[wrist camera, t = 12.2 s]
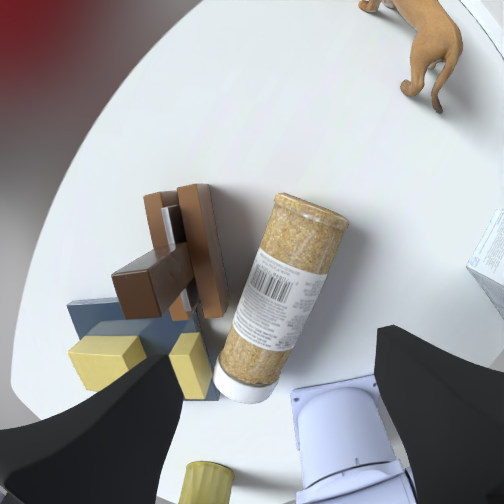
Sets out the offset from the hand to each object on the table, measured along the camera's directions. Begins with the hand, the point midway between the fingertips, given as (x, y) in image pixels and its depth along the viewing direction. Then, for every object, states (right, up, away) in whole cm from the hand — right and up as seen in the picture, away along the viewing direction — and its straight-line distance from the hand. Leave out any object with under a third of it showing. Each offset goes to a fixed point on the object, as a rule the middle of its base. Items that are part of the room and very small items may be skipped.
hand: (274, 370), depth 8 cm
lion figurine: (+10, +21, +5) cm, 24 cm away
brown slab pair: (-5, +4, +10) cm, 12 cm away
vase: (-6, -23, +17) cm, 30 cm away
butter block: (-12, -5, +12) cm, 18 cm away
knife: (-5, +4, +10) cm, 12 cm away
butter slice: (-5, -4, +11) cm, 13 cm away
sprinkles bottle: (+3, +7, +7) cm, 10 cm away
